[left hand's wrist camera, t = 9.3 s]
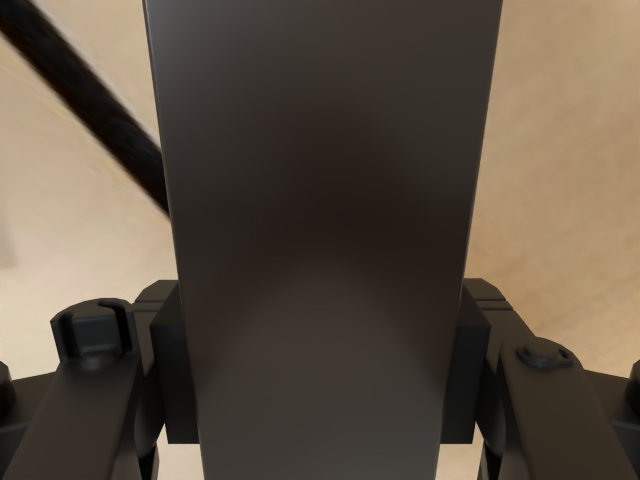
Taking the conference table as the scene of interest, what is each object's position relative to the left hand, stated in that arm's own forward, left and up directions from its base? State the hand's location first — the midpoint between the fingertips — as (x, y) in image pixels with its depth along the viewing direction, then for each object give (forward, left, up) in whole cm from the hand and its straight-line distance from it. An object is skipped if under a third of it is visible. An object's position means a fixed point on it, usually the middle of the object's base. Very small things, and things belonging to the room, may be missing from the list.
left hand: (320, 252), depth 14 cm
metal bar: (0, +11, 0) cm, 11 cm away
